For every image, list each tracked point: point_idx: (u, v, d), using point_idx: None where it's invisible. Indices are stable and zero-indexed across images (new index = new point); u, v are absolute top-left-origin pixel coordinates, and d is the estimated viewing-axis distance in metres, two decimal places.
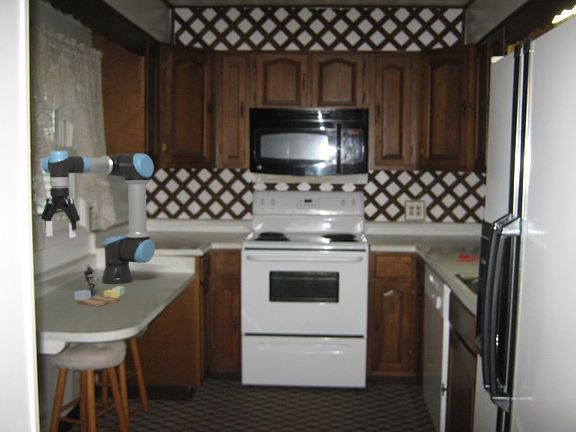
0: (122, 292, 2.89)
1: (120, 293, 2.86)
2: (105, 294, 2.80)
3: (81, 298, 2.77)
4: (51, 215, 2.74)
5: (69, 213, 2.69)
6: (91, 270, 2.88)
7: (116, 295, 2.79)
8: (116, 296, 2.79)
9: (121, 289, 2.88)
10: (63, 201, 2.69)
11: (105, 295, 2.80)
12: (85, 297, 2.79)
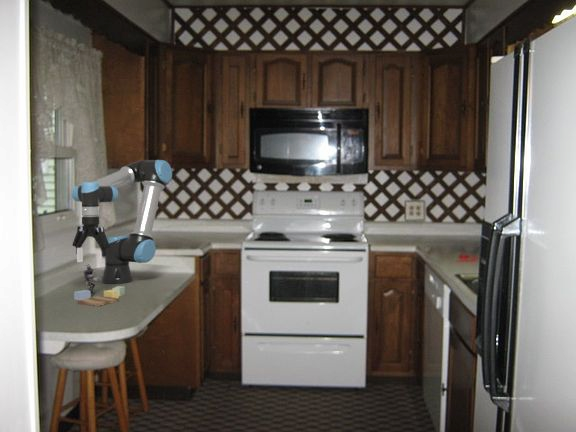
0: (122, 292, 2.89)
1: (120, 293, 2.87)
2: (105, 294, 2.80)
3: (81, 298, 2.77)
4: (82, 242, 2.90)
5: (99, 241, 2.84)
6: (91, 270, 2.88)
7: (116, 295, 2.79)
8: (116, 296, 2.79)
9: (121, 289, 2.88)
10: (94, 229, 2.85)
11: (105, 295, 2.80)
12: (85, 297, 2.79)
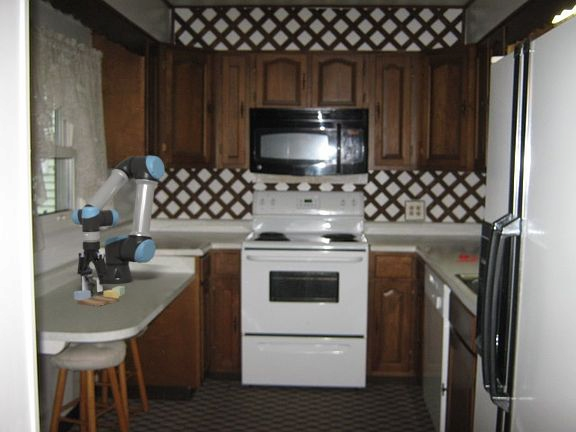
0: (122, 292, 2.89)
1: (120, 293, 2.87)
2: (105, 294, 2.80)
3: (81, 298, 2.77)
4: (86, 269, 2.90)
5: (98, 268, 2.86)
6: (90, 270, 2.88)
7: (116, 295, 2.79)
8: (116, 296, 2.79)
9: (121, 289, 2.88)
10: (95, 254, 2.86)
11: (105, 295, 2.80)
12: (85, 297, 2.79)
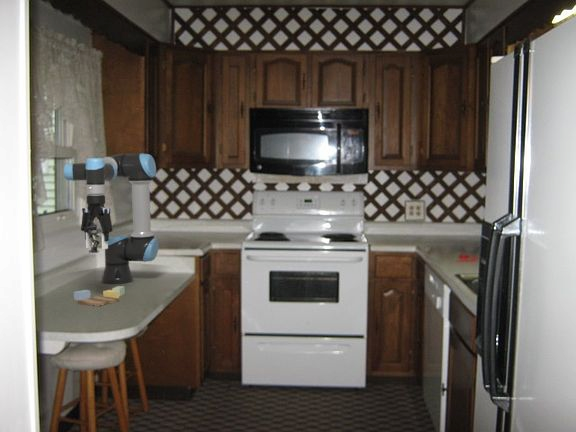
0: (122, 292, 2.89)
1: (120, 293, 2.87)
2: (105, 294, 2.80)
3: (81, 298, 2.77)
4: (90, 225, 2.71)
5: (103, 223, 2.67)
6: (95, 226, 2.69)
7: (117, 295, 2.79)
8: (117, 296, 2.79)
9: (121, 289, 2.88)
10: (99, 209, 2.67)
11: (105, 296, 2.80)
12: (85, 297, 2.79)
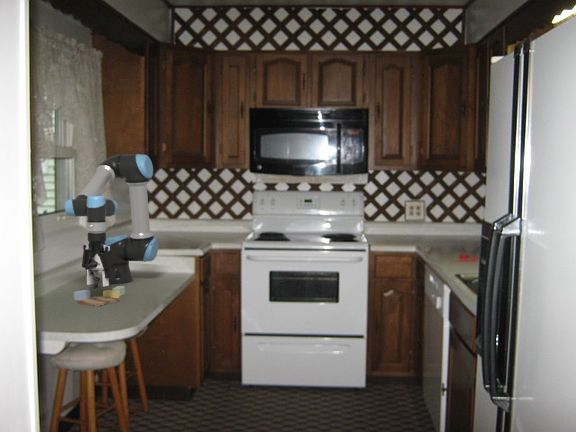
0: (122, 292, 2.89)
1: (120, 293, 2.87)
2: (105, 294, 2.79)
3: (81, 298, 2.77)
4: None
5: (104, 261, 2.68)
6: (96, 263, 2.70)
7: (117, 295, 2.79)
8: (117, 296, 2.79)
9: (121, 289, 2.88)
10: (100, 246, 2.68)
11: (105, 296, 2.80)
12: (85, 297, 2.79)
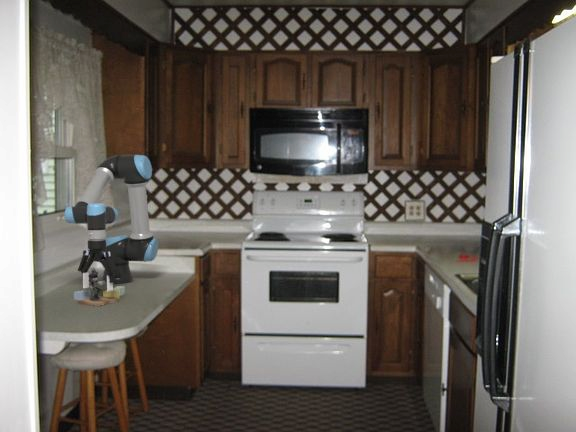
0: (122, 292, 2.89)
1: (120, 293, 2.87)
2: (105, 294, 2.79)
3: (81, 298, 2.77)
4: (88, 267, 2.73)
5: (107, 266, 2.68)
6: (96, 273, 2.71)
7: (117, 295, 2.79)
8: (117, 296, 2.80)
9: (121, 289, 2.88)
10: (101, 254, 2.68)
11: (105, 296, 2.79)
12: (85, 297, 2.79)
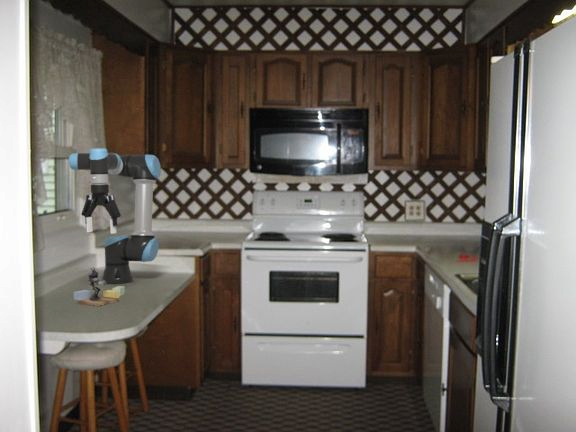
0: (122, 292, 2.89)
1: (120, 293, 2.87)
2: (105, 294, 2.79)
3: (81, 298, 2.77)
4: (91, 211, 2.79)
5: (110, 209, 2.73)
6: (96, 273, 2.71)
7: (117, 295, 2.80)
8: (117, 296, 2.80)
9: (121, 289, 2.88)
10: (104, 198, 2.73)
11: (105, 296, 2.79)
12: (85, 297, 2.79)
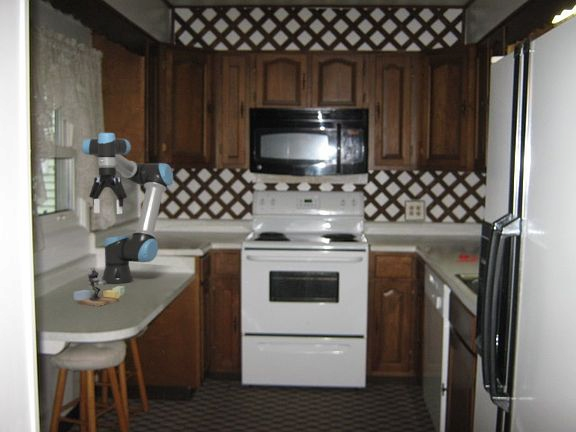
0: (122, 292, 2.89)
1: (120, 293, 2.87)
2: (105, 294, 2.79)
3: (81, 298, 2.77)
4: (99, 193, 2.93)
5: (116, 191, 2.87)
6: (96, 273, 2.71)
7: (117, 295, 2.80)
8: (117, 296, 2.80)
9: (121, 289, 2.88)
10: (111, 180, 2.88)
11: (105, 296, 2.79)
12: (85, 297, 2.79)
